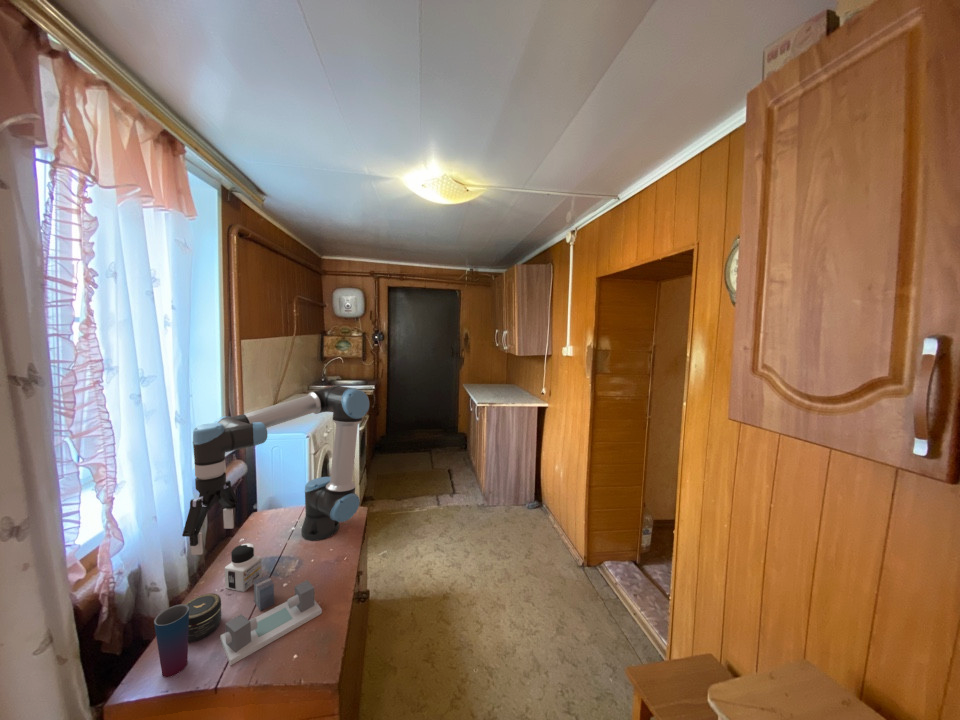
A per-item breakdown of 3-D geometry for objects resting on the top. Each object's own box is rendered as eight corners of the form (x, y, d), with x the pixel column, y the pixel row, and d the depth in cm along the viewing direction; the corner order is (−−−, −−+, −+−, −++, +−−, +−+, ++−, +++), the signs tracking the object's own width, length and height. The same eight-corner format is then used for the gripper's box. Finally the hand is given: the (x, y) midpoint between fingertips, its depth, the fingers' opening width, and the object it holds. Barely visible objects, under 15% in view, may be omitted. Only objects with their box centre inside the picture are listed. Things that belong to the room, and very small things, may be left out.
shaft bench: (307, 594, 118) (307, 573, 117) (321, 613, 110) (321, 590, 110) (220, 640, 100) (219, 615, 100) (230, 665, 93) (229, 639, 92)
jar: (226, 628, 104) (224, 604, 104) (182, 651, 97) (180, 625, 96) (217, 610, 111) (216, 587, 110) (175, 629, 103) (174, 605, 103)
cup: (196, 664, 93) (193, 611, 92) (163, 686, 87) (160, 630, 86) (185, 651, 97) (182, 600, 95) (152, 672, 91) (149, 617, 89)
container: (243, 592, 118) (242, 556, 117) (224, 588, 120) (223, 552, 119) (262, 576, 126) (261, 542, 125) (244, 573, 127) (242, 539, 126)
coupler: (254, 601, 115) (253, 580, 114) (268, 594, 118) (267, 574, 117) (260, 611, 111) (259, 590, 110) (274, 604, 114) (273, 583, 113)
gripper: (226, 459, 120) (229, 518, 122) (162, 493, 96) (167, 567, 97) (248, 459, 121) (251, 518, 122) (191, 493, 96) (195, 567, 98)
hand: (214, 540), depth 110 cm, fingers open, 13 cm apart
